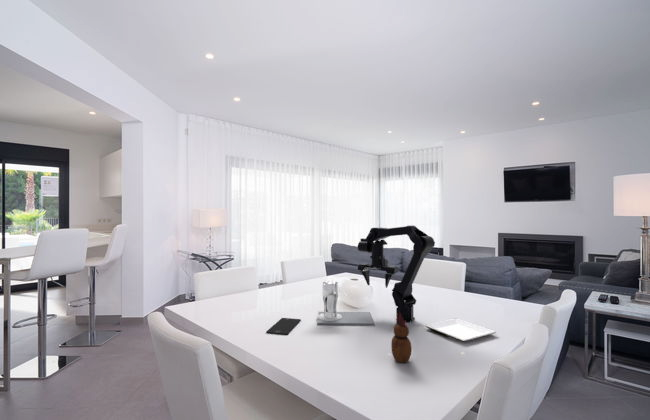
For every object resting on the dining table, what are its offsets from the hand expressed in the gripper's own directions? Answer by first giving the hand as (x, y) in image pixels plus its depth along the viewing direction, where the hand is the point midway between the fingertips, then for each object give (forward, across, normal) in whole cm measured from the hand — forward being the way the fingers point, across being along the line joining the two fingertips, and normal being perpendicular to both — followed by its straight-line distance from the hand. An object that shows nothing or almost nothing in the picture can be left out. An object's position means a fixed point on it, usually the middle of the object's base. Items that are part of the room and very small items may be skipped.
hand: (377, 286), depth 153 cm
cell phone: (+13, +24, +40) cm, 48 cm away
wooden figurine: (+12, -27, +44) cm, 53 cm away
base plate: (+12, +8, +18) cm, 23 cm away
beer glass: (+11, +13, +22) cm, 28 cm away
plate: (+12, -38, +8) cm, 41 cm away
